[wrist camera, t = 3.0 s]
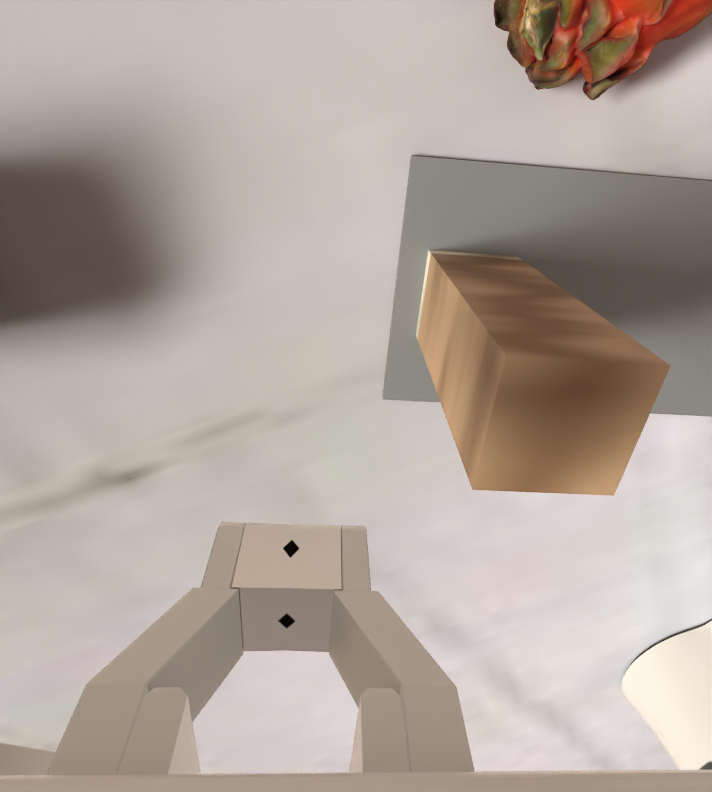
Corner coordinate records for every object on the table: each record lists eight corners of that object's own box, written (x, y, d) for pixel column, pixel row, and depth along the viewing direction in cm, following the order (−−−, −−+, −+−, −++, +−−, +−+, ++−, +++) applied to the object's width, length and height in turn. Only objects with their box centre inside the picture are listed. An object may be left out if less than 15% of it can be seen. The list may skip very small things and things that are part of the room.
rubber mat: (852, 192, 26) (859, 193, 25) (733, 414, 32) (737, 417, 32) (411, 155, 24) (412, 155, 24) (382, 396, 31) (383, 399, 31)
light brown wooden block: (517, 256, 26) (670, 365, 14) (497, 340, 29) (613, 495, 17) (428, 249, 26) (506, 356, 14) (415, 335, 28) (472, 489, 16)
